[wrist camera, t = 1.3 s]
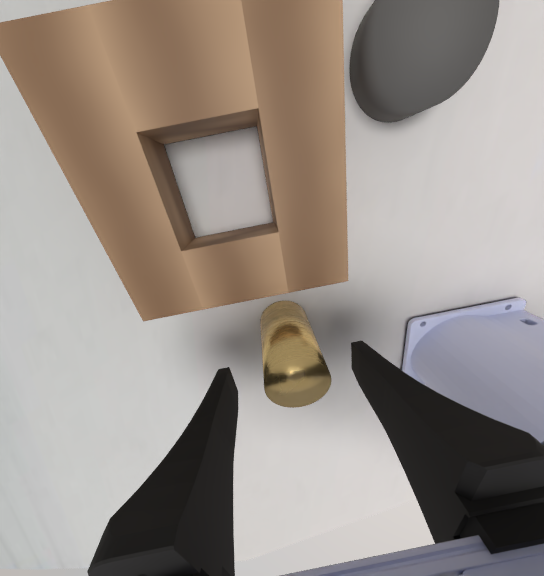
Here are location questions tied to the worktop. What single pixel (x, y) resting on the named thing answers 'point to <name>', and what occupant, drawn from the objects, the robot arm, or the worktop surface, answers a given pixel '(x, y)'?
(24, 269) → the worktop surface
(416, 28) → the flat gray river rock
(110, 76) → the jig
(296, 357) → the brass cylinder plug
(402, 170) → the worktop surface
